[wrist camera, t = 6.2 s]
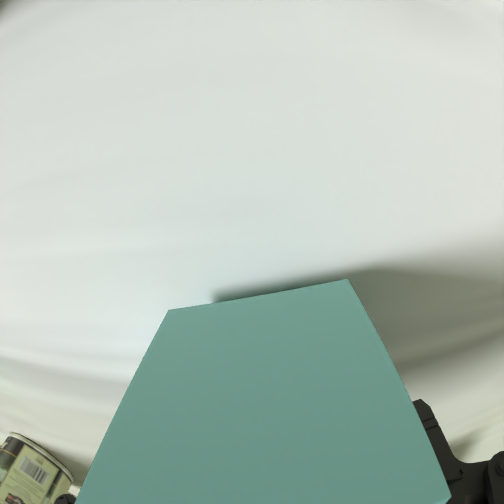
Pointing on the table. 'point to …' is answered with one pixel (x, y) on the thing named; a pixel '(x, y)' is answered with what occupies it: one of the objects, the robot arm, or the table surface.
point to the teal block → (267, 411)
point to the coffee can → (30, 473)
